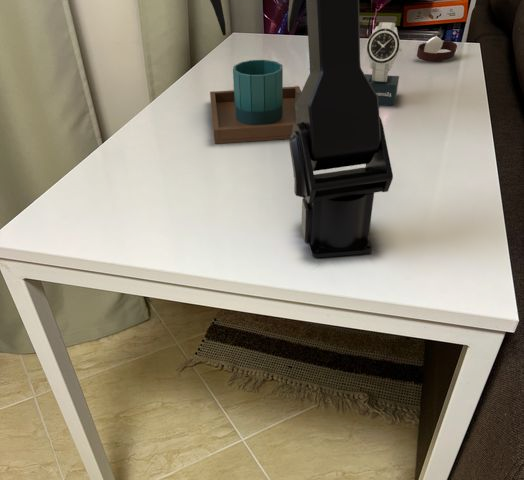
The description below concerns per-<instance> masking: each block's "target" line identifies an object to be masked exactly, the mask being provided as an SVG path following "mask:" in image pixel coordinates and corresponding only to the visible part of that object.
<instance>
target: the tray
mask: <svg viewBox="0 0 524 480" xmlns="http://www.w3.org/2000/svg"><path fill="white" fill-rule="evenodd" d="M300 92H302V89H301V87H300V86H299V85H296V86H283V116H282V118H281V119H280V120H279V121H277V122H275V123H272V124H267V125H248V124H244V123H241V122H240V121H238V120H237V119H236V108H235V98H234V89H232V90H231V89H230V90H216V91H215V90H214V91H213V90H212V91H209V98H210V108H211V109H210V110H211V118H212V119H211V120H212V129H213V140H214V144H216V145H217V144H218V145H219V144H232V143H246V142H247V143H248V142H259V141H261V142H262V141H276V140H277V141H278V140H290V139H291V135H292V129H293V126H294V124H296V115H295V106H294V102H295V99H296V96H297V94H298V93H300Z"/></svg>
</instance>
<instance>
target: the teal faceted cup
mask: <svg viewBox="0 0 524 480" xmlns="http://www.w3.org/2000/svg"><path fill="white" fill-rule="evenodd" d="M283 70H284V68H283V64H281V63H280V62H278V61H276V60H270V59H250V60H245V61H241V62H238V63H236V64H235V65H233V68H232V78H233V79H232V80H233V90H234V98H235V108H236V119H237V120H238V121H240V122H241V123H244V124H248V125H267V124H272V123H275V122H277V121H279V120H280V119H281V118H282V116H283V87H284V85H283V84H284V82H283V81H284V79H283V78H284V77H283V76H284V74H283V72H284V71H283Z"/></svg>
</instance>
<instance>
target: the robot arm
mask: <svg viewBox="0 0 524 480" xmlns="http://www.w3.org/2000/svg"><path fill="white" fill-rule="evenodd" d="M288 1H289V2H288V11H287V31H288V33H292V31H293V29H294V26H295V23H296V20H297V17H298V14H299V11H300V9H301V6H302V3H303V1H304V0H288ZM209 2H210V3H211V6H212V8H213V11H214V13H215V16H216V19H217V22H218V25H219V28H220V30H221V31H220V32H221V33H222V36H227V29H226V20H225V15H224V14H225V13H224V10H223V4H222V0H209ZM305 4H306V20H307V21H306V22H307V39H308V41H307V42H308V57H309V58H308V60H309V61H308V62H309V74H308V76H307V79H306V81H305V82H304V85H303V88H302V89H301V92H300V93H298V94H297V96H296V99H295V102H294V106H295V115H296V124H294V126H293V129H292V135H291V139H289V142H288V143H289V144H288V145H289V151H290V158H291V164H292V174H293V179H294V181H293V182H294V187H293V193H294V195H295V196H296V197H299V198H302V199H301V203H302V204H301V227H300V228H301V234H302V237H303V241H304V243H305V244H306V245H308V248H309V251H310V255H311V256H312V257H313V258H327V257H339V256H351V255H364V254H371V253H373V245H372V242H371V241H370V231H371V222H372V213H373V205H374V198H375V194H376V193H388V192H389V191H390V187H391V185H392V182H393V178H394V176H393V175H394V174H393V170H392V165H391V159H390V155H389V154H390V153H389V149H388V143H387V140H386V139H387V138H386V134H385V129H384V124H383V120H382V118H381V116H380V105H379V102H378V96H377V94H376V93H375V91H374V89H373V88H372V86H371V84H370V83H369V81H368V79H367V78H366V76H365V74H366V73H364V71H363V70H362V66H361V65H362V64H361V31H360V30H361V29H360V23H361V22H360V0H305ZM360 165H365V166H363V167H358V168H351V169H344V170H337V171H330V172H323V173H315V172H317V171H324V170H331V169H338V168H346V167H353V166H360ZM314 173H315V174H314Z"/></svg>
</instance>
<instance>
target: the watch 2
mask: <svg viewBox="0 0 524 480" xmlns="http://www.w3.org/2000/svg"><path fill="white" fill-rule="evenodd" d="M417 47H418V48H417V50H416V51H417V52H416V57H417V58H418V59H419V60H421V61H425V62H432V63H443V62H444V61H449V60H451V59H453V58H454V57H455V54H456V51H457V48H458V44H457V43H456V42H454V41H451V40H442V39H441V38H440V37H438V35H435V36H433V37H431V38H430V39H428V40H427V41H426V42H423V43H420V44H419V45H418V46H417ZM441 50H445V51H444V52H439V51H441Z"/></svg>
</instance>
